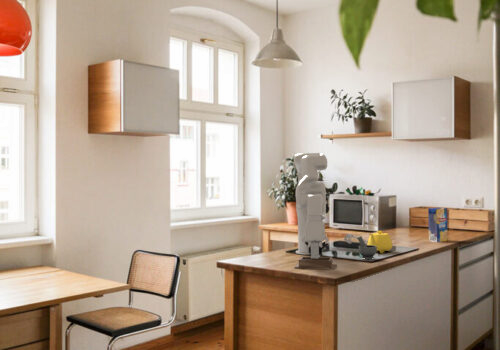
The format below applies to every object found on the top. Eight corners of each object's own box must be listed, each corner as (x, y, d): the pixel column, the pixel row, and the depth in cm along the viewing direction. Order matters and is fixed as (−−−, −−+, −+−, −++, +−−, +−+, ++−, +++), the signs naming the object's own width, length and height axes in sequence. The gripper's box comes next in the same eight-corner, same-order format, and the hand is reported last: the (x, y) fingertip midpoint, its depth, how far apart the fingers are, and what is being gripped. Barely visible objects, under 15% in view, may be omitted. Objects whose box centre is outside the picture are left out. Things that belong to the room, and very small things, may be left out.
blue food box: (447, 240, 348) (447, 208, 348) (437, 242, 342) (436, 208, 342) (438, 239, 354) (438, 207, 354) (428, 241, 348) (428, 208, 348)
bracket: (345, 239, 347) (351, 226, 344) (372, 256, 335) (378, 243, 332) (343, 240, 345) (349, 227, 342) (369, 257, 332) (376, 244, 330)
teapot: (360, 253, 304) (360, 231, 304) (377, 248, 318) (377, 228, 318) (381, 255, 295) (380, 233, 295) (397, 250, 309) (397, 230, 309)
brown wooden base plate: (297, 264, 271) (297, 256, 271) (336, 264, 267) (336, 257, 267) (294, 268, 260) (294, 260, 260) (334, 269, 255) (334, 260, 255)
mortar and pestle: (380, 258, 283) (380, 236, 283) (370, 261, 276) (370, 238, 276) (363, 256, 291) (362, 235, 291) (353, 258, 285) (352, 236, 285)
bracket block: (312, 256, 267) (312, 238, 267) (320, 256, 266) (319, 238, 266) (310, 258, 261) (310, 240, 261) (318, 258, 260) (318, 240, 260)
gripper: (332, 218, 265) (332, 253, 265) (299, 218, 269) (300, 253, 269) (330, 219, 258) (331, 256, 258) (297, 219, 262) (298, 255, 262)
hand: (315, 254), depth 263 cm, fingers closed on bracket block, 4 cm apart
